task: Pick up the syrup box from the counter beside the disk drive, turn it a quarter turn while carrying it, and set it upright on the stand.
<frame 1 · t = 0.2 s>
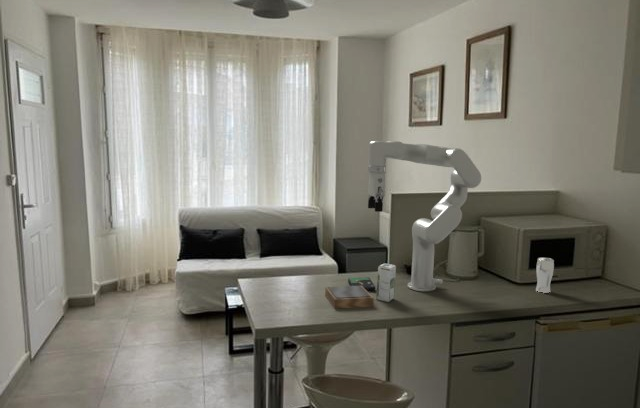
hand: (375, 209, 204), 36 cm above the counter, tool pointing down, fingers open, 9 cm apart
disk drive: (361, 288, 213), on the counter
stand: (348, 300, 193), on the counter
beer glass: (542, 292, 213), on the counter
syrup box: (385, 299, 197), on the counter
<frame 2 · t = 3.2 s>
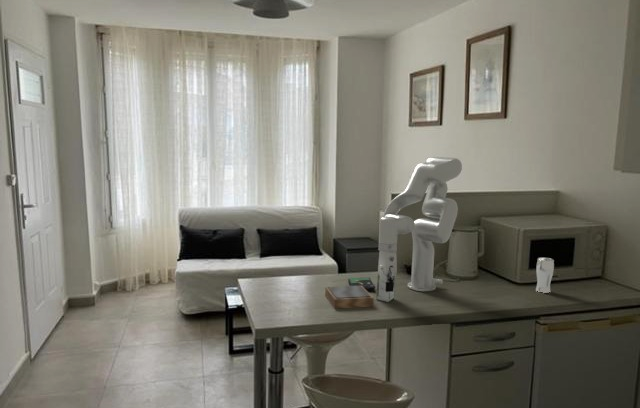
hand: (385, 288, 196), 5 cm above the counter, tool pointing down, fingers closed on syrup box, 7 cm apart
syrup box: (385, 299, 197), on the counter, touching gripper
everything else where it was.
when the fingers open (10 cm above the counter, at t = 9.5 s): syrup box drops 1 cm, resting on stand.
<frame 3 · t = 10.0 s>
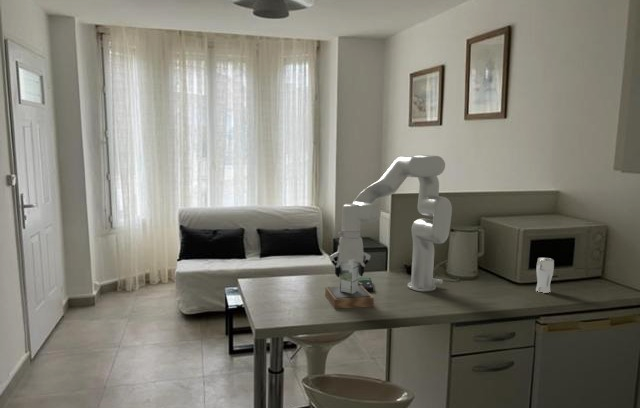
hand: (349, 275, 192), 11 cm above the counter, tool pointing down, fingers open, 9 cm apart
syrup box: (348, 291, 193), point 4 cm above the counter, touching stand
everything else where it was.
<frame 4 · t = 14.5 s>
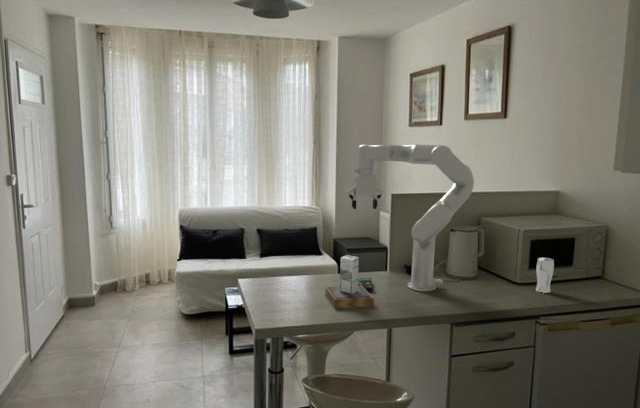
hand: (364, 208, 218), 34 cm above the counter, tool pointing down, fingers open, 9 cm apart
nothing on the counter moved.
at the end: syrup box inside the target area on the stand (0.1 cm from its centre), point 3.8 cm above the stand's base; syrup box tilted 0°; the gripper is holding nothing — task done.
